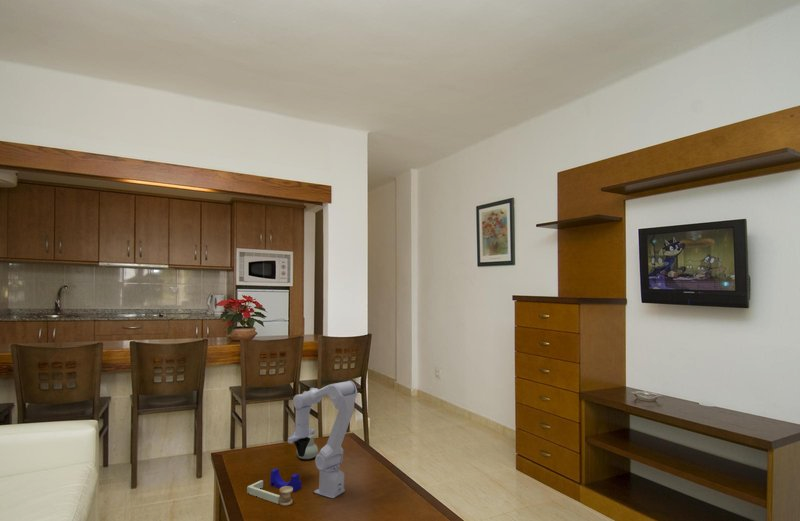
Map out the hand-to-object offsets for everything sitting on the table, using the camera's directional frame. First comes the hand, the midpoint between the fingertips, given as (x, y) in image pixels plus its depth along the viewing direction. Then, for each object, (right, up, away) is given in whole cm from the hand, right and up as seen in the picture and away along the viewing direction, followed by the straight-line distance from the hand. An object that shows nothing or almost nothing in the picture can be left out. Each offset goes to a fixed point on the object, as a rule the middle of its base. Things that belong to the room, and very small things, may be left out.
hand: (301, 456), depth 192 cm
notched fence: (-9, -8, -15) cm, 20 cm away
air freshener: (-2, -11, +24) cm, 26 cm away
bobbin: (-1, -8, -21) cm, 23 cm away
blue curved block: (-4, -9, -8) cm, 13 cm away
